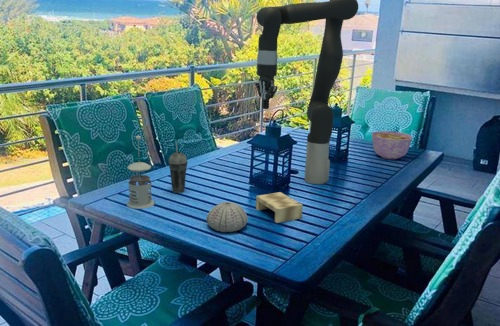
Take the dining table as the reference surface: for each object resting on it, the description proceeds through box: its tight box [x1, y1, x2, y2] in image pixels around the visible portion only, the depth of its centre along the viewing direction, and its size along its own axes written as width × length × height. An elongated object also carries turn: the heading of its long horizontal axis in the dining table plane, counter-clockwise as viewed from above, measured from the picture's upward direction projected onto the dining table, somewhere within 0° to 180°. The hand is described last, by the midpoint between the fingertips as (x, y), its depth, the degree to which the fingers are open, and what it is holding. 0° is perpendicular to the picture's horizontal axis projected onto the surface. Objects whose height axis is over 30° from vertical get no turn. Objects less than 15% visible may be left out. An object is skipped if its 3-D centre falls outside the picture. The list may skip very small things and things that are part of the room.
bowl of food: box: [371, 130, 413, 160], centre depth 242 cm, size 20×20×12 cm
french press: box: [126, 135, 155, 210], centre depth 168 cm, size 10×12×25 cm
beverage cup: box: [168, 141, 189, 194], centre depth 182 cm, size 7×7×20 cm
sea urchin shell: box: [205, 201, 249, 233], centre depth 153 cm, size 13×14×8 cm
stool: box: [255, 191, 304, 224], centre depth 165 cm, size 10×5×14 cm
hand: (265, 108), depth 183 cm, fingers closed
